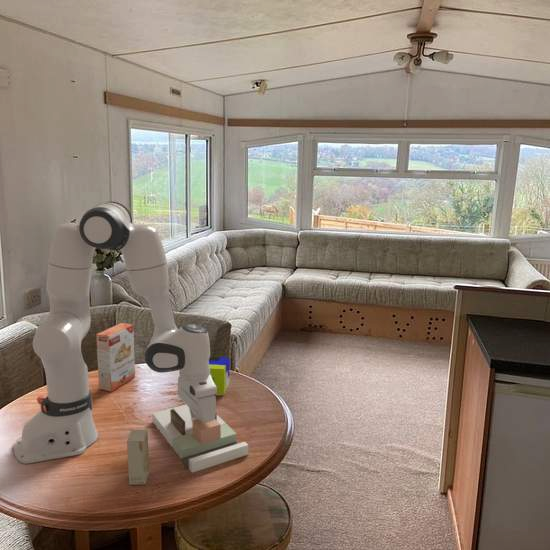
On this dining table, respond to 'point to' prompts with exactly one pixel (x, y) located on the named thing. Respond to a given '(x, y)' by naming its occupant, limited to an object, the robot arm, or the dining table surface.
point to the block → (206, 431)
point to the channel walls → (179, 421)
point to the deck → (191, 448)
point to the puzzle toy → (219, 373)
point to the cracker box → (115, 356)
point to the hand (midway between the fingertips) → (195, 422)
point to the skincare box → (138, 457)
